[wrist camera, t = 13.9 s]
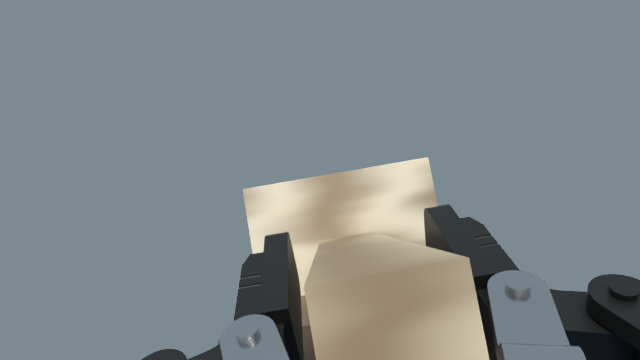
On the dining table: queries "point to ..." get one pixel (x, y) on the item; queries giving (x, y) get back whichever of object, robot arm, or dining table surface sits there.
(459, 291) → the mallet
